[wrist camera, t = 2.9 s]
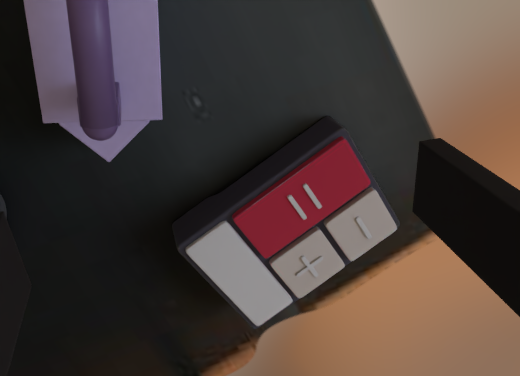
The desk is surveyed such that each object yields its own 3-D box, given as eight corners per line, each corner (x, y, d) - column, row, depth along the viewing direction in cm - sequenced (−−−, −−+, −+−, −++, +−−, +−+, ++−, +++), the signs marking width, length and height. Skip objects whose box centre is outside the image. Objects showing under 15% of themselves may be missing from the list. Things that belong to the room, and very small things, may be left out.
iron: (27, -102, 27) (-18, -117, 18) (149, -93, 28) (157, -104, 20) (63, 143, 33) (41, 212, 25) (159, 139, 35) (169, 204, 26)
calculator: (407, 230, 39) (257, 337, 40) (381, 206, 43) (244, 304, 43) (349, 128, 34) (175, 254, 34) (325, 110, 37) (169, 224, 38)
